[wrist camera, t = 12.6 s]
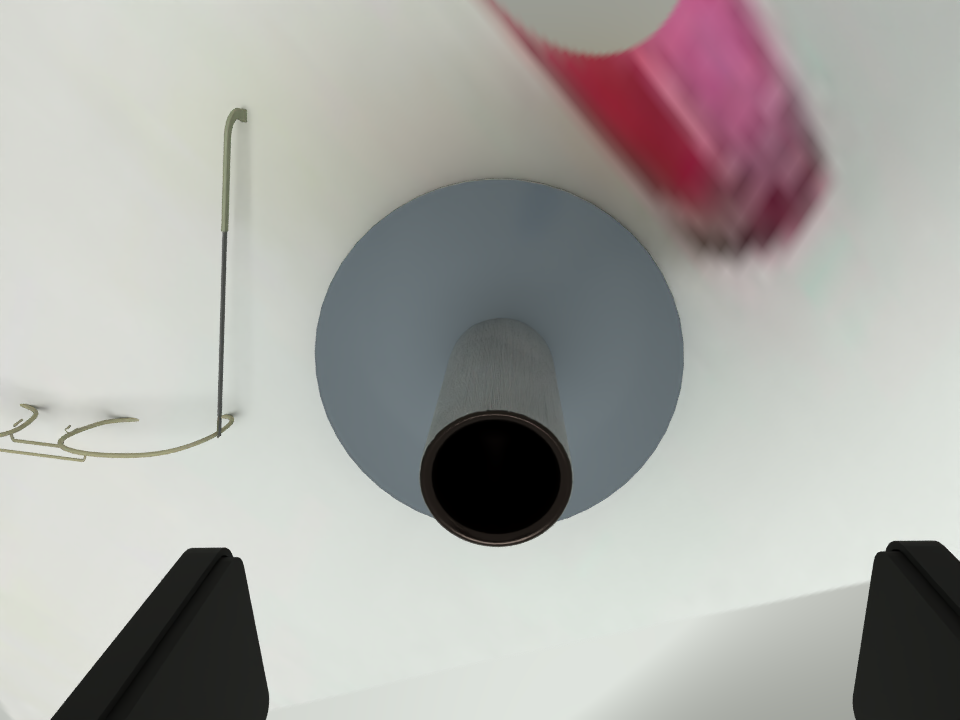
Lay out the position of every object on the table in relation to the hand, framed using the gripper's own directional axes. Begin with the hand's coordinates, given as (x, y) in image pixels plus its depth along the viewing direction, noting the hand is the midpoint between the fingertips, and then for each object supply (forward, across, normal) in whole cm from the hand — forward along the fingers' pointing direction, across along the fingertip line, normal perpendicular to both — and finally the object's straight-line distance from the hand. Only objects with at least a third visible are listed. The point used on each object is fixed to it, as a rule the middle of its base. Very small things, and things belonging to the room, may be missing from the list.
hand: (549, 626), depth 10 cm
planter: (+20, +2, +3) cm, 20 cm away
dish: (+21, +2, +3) cm, 21 cm away
